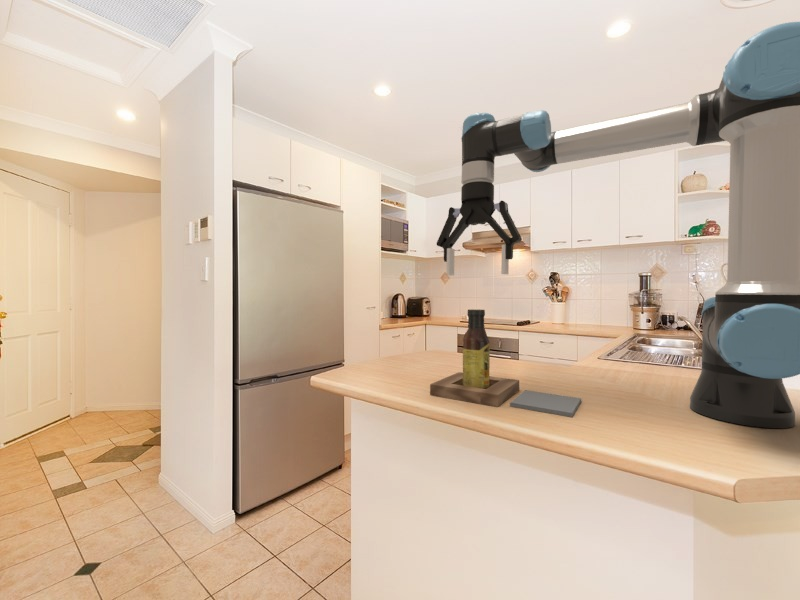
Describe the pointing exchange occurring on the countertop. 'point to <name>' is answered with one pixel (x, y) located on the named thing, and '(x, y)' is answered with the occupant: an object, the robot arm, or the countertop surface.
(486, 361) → the sauce bottle
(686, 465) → the countertop surface
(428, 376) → the countertop surface
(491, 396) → the caddy
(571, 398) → the mat
